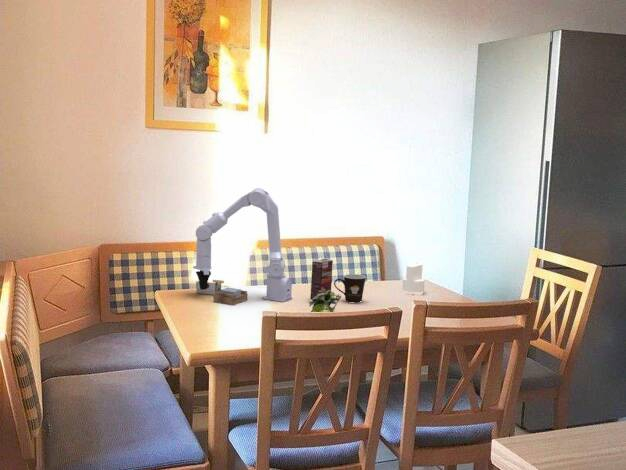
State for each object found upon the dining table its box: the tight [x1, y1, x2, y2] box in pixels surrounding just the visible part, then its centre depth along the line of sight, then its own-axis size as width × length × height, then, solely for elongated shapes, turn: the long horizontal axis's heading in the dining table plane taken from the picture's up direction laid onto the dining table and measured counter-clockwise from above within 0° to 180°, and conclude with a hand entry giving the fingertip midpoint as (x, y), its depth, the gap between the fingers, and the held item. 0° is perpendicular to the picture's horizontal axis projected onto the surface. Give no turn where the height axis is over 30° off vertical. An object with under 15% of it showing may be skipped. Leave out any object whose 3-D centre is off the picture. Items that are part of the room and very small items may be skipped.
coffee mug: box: [333, 273, 366, 303], centre depth 271 cm, size 12×9×10 cm
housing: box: [212, 289, 249, 306], centre depth 263 cm, size 9×10×4 cm
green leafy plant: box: [308, 289, 342, 313], centre depth 248 cm, size 11×11×12 cm
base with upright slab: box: [402, 263, 425, 292], centre depth 290 cm, size 9×9×12 cm
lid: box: [221, 287, 242, 296], centre depth 263 cm, size 6×5×2 cm
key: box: [195, 279, 225, 296], centre depth 272 cm, size 11×2×6 cm, turn 75°
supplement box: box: [309, 258, 334, 300], centre depth 270 cm, size 9×5×16 cm, turn 148°
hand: (203, 289), depth 270 cm, fingers closed, pressing on key
